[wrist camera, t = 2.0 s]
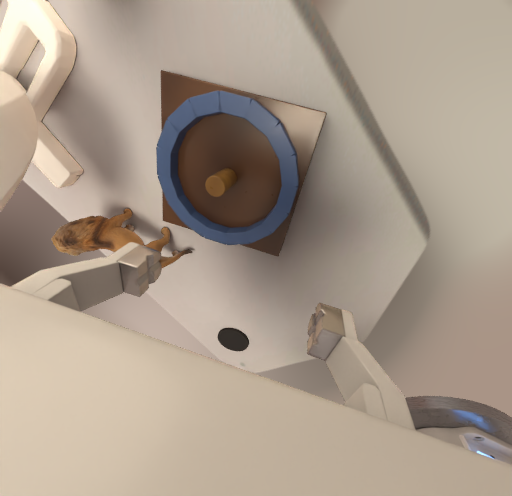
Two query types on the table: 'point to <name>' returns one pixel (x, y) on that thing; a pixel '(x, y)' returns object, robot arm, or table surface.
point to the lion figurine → (106, 236)
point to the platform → (236, 159)
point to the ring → (257, 117)
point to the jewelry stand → (32, 95)
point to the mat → (233, 339)
